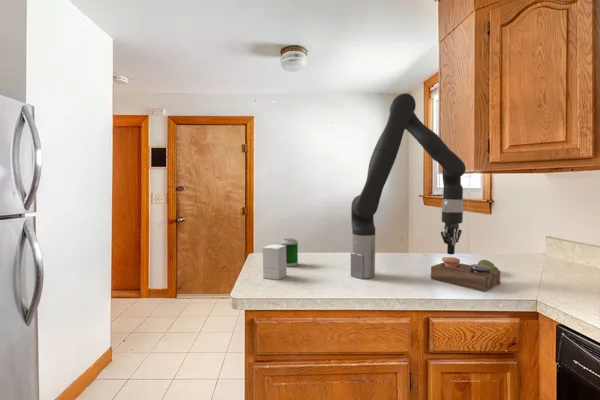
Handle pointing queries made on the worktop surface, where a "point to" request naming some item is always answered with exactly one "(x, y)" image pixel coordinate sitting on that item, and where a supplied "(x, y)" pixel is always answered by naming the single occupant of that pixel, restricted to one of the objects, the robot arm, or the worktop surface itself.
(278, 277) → the supplement box
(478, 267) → the grey knob
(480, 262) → the pear
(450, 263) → the tan round knob
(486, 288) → the brown wooden block
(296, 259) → the soda can
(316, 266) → the worktop surface
